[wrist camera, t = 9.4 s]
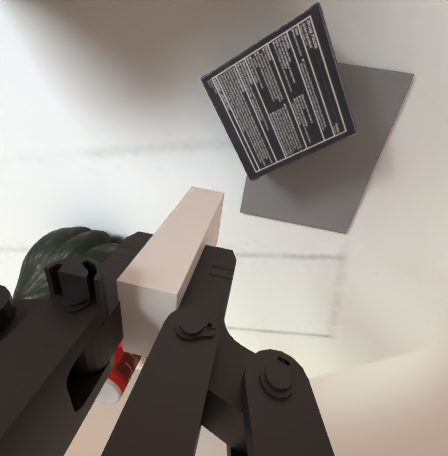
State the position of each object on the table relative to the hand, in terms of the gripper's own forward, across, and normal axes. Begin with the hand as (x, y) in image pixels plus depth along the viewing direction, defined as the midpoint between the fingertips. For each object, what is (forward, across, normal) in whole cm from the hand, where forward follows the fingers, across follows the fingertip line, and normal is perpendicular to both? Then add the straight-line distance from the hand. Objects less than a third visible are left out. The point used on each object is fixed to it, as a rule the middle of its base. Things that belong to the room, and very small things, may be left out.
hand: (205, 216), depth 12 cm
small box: (+18, -2, +1) cm, 18 cm away
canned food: (+21, -17, -42) cm, 50 cm away
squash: (+22, -21, -22) cm, 37 cm away
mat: (+21, +8, 0) cm, 23 cm away
